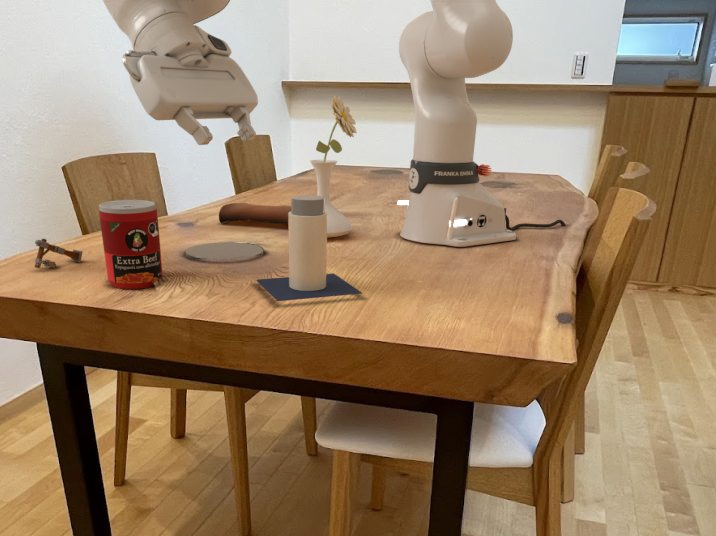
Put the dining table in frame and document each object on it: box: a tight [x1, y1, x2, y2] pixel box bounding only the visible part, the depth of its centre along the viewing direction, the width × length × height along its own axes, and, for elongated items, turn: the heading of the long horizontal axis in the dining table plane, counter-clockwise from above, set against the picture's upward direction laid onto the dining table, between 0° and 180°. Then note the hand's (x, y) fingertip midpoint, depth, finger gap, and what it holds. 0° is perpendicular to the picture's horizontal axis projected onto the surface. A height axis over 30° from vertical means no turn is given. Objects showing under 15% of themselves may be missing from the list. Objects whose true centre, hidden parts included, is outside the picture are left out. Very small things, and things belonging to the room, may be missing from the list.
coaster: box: [185, 241, 264, 261], centre depth 112 cm, size 13×13×1 cm
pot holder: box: [255, 272, 363, 302], centre depth 92 cm, size 12×11×1 cm
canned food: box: [98, 199, 164, 290], centre depth 93 cm, size 8×8×11 cm
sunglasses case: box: [218, 202, 291, 225], centre depth 136 cm, size 18×7×7 cm, turn 73°
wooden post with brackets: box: [34, 238, 83, 269], centre depth 102 cm, size 2×8×4 cm, turn 151°
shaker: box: [287, 194, 328, 291], centre depth 89 cm, size 5×5×12 cm
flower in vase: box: [309, 94, 357, 239], centre depth 123 cm, size 13×11×25 cm
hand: (229, 140), depth 90 cm, fingers open, 8 cm apart
